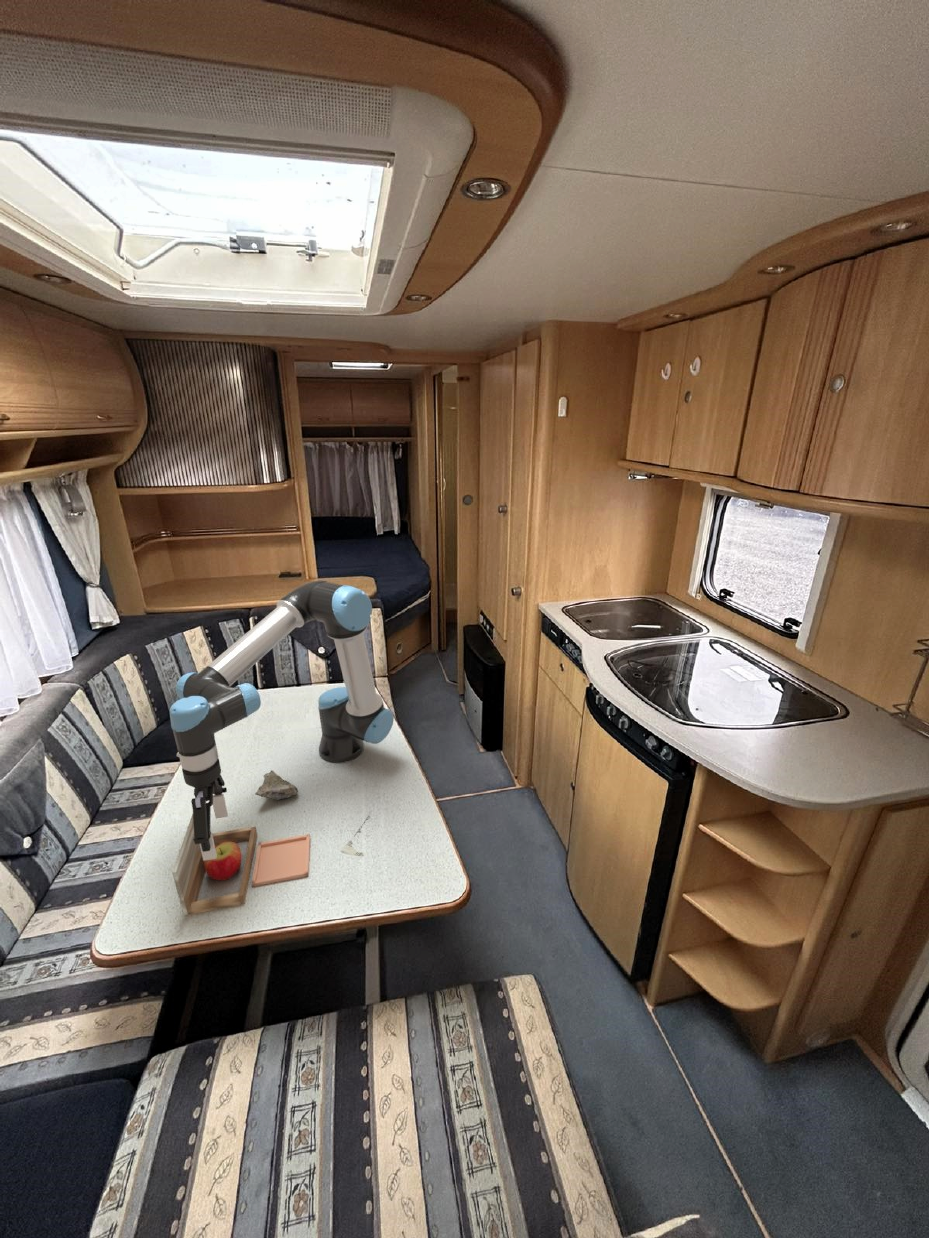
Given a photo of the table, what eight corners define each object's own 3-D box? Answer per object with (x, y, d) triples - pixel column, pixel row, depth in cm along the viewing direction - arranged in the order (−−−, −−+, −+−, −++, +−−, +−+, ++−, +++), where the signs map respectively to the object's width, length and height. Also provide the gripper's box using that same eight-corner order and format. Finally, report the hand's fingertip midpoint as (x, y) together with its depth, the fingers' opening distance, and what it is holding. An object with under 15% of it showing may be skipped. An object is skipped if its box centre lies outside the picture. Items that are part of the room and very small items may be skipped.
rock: (254, 791, 144) (263, 769, 153) (254, 808, 146) (262, 785, 155) (295, 794, 146) (302, 771, 155) (294, 810, 148) (300, 787, 157)
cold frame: (258, 833, 138) (250, 791, 133) (245, 906, 117) (235, 861, 112) (207, 841, 136) (196, 800, 130) (184, 918, 115) (171, 872, 109)
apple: (207, 892, 121) (199, 861, 117) (208, 866, 128) (201, 835, 125) (244, 881, 124) (237, 850, 120) (243, 855, 131) (237, 825, 128)
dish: (310, 839, 136) (309, 833, 136) (308, 878, 125) (307, 872, 124) (259, 848, 134) (258, 843, 133) (252, 889, 122) (251, 883, 121)
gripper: (195, 734, 124) (210, 803, 132) (165, 802, 102) (185, 881, 109) (228, 730, 126) (241, 799, 134) (206, 796, 103) (223, 875, 111)
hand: (216, 836), depth 121 cm, fingers open, 13 cm apart
